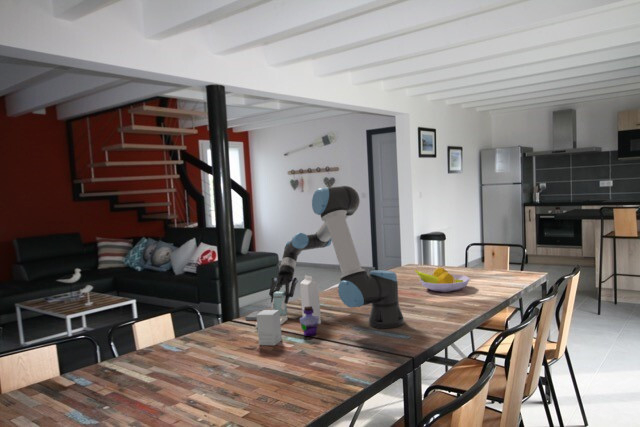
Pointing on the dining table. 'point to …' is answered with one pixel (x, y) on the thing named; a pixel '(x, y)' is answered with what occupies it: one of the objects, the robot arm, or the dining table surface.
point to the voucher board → (282, 319)
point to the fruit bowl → (443, 280)
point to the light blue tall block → (279, 302)
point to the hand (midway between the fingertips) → (277, 308)
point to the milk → (310, 296)
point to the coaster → (252, 315)
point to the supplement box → (269, 327)
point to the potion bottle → (309, 322)
